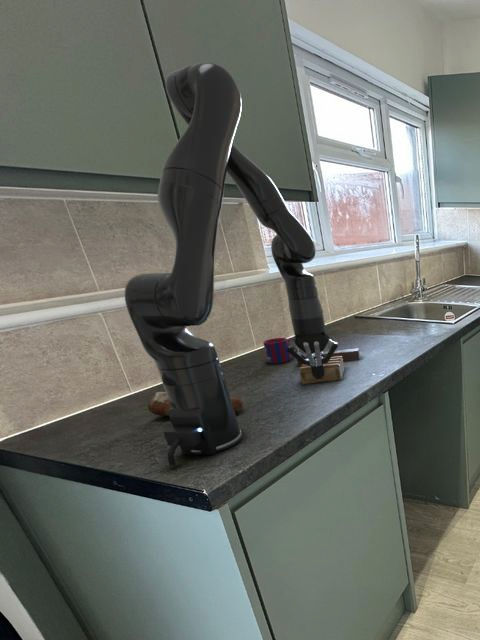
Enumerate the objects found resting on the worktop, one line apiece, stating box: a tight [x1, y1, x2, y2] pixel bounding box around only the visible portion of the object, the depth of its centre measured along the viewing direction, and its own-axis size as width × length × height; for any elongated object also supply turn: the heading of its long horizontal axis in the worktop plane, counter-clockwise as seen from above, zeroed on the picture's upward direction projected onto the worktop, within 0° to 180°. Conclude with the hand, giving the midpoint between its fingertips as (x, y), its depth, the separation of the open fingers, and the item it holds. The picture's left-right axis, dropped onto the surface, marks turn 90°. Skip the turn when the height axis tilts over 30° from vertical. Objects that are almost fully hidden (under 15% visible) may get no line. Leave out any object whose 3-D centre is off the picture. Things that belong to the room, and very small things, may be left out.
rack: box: [299, 356, 346, 385], centre depth 118 cm, size 10×10×4 cm
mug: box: [263, 337, 300, 365], centre depth 134 cm, size 7×10×7 cm
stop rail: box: [296, 347, 361, 367], centre depth 131 cm, size 3×18×3 cm, turn 106°
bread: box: [147, 391, 244, 417], centre depth 96 cm, size 6×19×6 cm, turn 90°
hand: (319, 378), depth 113 cm, fingers closed
